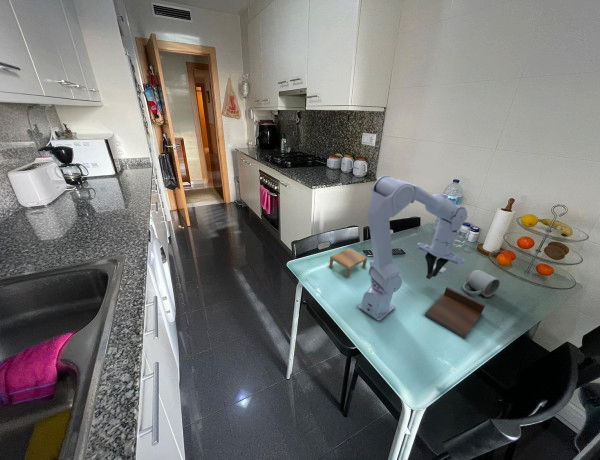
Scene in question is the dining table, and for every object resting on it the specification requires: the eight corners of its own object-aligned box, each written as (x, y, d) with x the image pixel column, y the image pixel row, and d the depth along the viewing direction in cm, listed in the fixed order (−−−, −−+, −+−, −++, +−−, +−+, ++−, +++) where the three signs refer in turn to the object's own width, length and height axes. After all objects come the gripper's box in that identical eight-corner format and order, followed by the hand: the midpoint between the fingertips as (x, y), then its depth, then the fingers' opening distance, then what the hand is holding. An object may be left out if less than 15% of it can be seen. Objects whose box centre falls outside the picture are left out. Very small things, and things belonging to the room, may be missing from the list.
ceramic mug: (475, 281, 100) (481, 265, 97) (495, 294, 93) (503, 277, 90) (455, 287, 97) (462, 270, 93) (475, 300, 90) (483, 283, 86)
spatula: (433, 281, 83) (434, 278, 82) (421, 275, 85) (422, 272, 85) (446, 269, 90) (447, 267, 89) (435, 265, 92) (435, 262, 92)
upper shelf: (347, 277, 99) (349, 267, 97) (329, 266, 105) (330, 256, 103) (365, 267, 106) (367, 257, 104) (347, 257, 113) (348, 248, 111)
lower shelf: (464, 338, 74) (469, 328, 72) (424, 315, 82) (427, 306, 80) (481, 314, 83) (485, 305, 82) (443, 295, 91) (447, 286, 90)
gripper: (472, 244, 78) (459, 279, 84) (426, 228, 88) (417, 261, 93) (465, 251, 74) (451, 288, 79) (417, 233, 83) (408, 267, 89)
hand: (432, 274), depth 86 cm, fingers closed on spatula, 1 cm apart
